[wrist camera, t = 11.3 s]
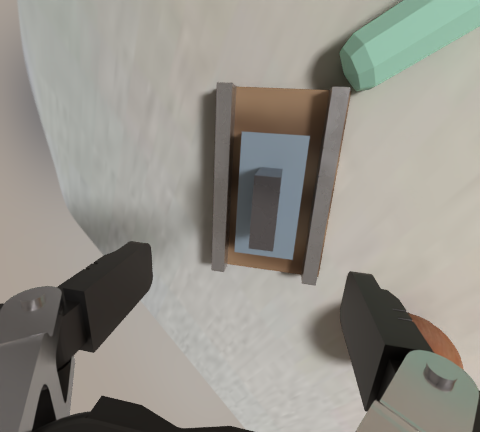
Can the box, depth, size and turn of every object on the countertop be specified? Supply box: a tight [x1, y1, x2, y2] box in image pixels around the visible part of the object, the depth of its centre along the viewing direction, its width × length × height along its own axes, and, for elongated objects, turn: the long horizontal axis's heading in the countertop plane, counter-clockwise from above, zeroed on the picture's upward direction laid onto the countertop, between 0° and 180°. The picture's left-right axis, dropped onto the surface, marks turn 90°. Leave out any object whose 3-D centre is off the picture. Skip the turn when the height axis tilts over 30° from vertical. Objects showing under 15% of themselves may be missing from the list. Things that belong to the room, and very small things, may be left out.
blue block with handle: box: [235, 132, 310, 260], centre depth 24 cm, size 12×6×9 cm, turn 177°
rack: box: [212, 83, 351, 285], centre depth 28 cm, size 20×13×3 cm, turn 177°
